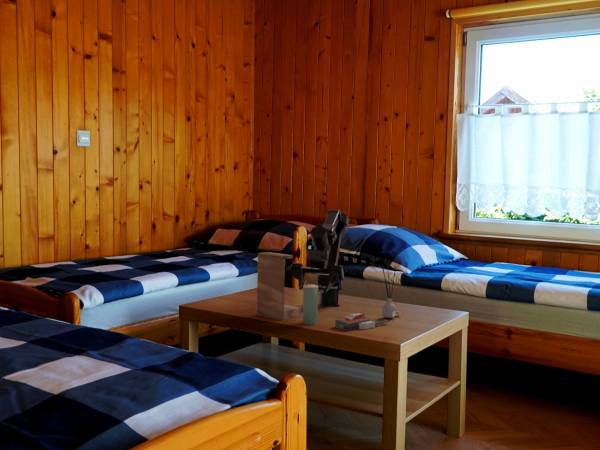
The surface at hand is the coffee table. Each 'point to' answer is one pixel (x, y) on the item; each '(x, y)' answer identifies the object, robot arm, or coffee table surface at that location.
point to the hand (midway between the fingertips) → (312, 290)
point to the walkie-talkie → (356, 322)
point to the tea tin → (310, 304)
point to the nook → (273, 287)
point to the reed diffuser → (389, 301)
